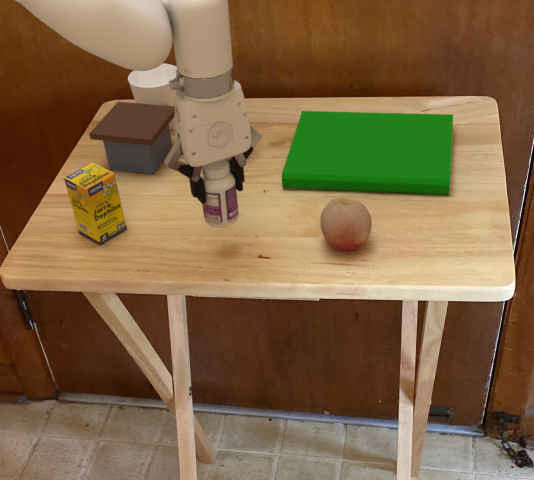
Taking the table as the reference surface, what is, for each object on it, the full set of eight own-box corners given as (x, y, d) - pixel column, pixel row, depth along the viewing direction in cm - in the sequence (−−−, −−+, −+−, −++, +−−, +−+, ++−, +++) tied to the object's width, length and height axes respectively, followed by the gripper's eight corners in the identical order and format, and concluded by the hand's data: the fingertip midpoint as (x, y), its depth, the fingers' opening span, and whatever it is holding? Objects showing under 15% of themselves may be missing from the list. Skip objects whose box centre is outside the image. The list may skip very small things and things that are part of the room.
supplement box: (100, 246, 132) (85, 189, 125) (78, 233, 136) (62, 177, 128) (128, 229, 135) (115, 172, 128) (105, 216, 139) (91, 161, 131)
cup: (192, 128, 159) (185, 81, 152) (142, 139, 157) (132, 91, 151) (181, 105, 166) (174, 59, 160) (133, 115, 165) (124, 69, 158)
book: (302, 125, 157) (302, 110, 155) (451, 129, 152) (453, 114, 149) (282, 189, 141) (281, 175, 139) (448, 197, 135) (450, 181, 133)
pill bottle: (231, 205, 128) (226, 151, 121) (244, 223, 124) (239, 168, 118) (199, 214, 126) (192, 160, 120) (211, 232, 123) (204, 177, 116)
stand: (158, 180, 146) (150, 139, 140) (98, 173, 149) (88, 133, 144) (183, 146, 154) (176, 106, 149) (126, 140, 158) (117, 101, 152)
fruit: (373, 230, 130) (373, 187, 125) (369, 261, 124) (369, 218, 119) (323, 228, 132) (322, 186, 126) (317, 259, 126) (315, 216, 120)
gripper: (157, 107, 105) (175, 223, 117) (275, 74, 110) (280, 188, 122) (137, 85, 110) (156, 198, 122) (250, 54, 115) (258, 165, 127)
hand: (218, 191), depth 122 cm, fingers closed on pill bottle, 5 cm apart
